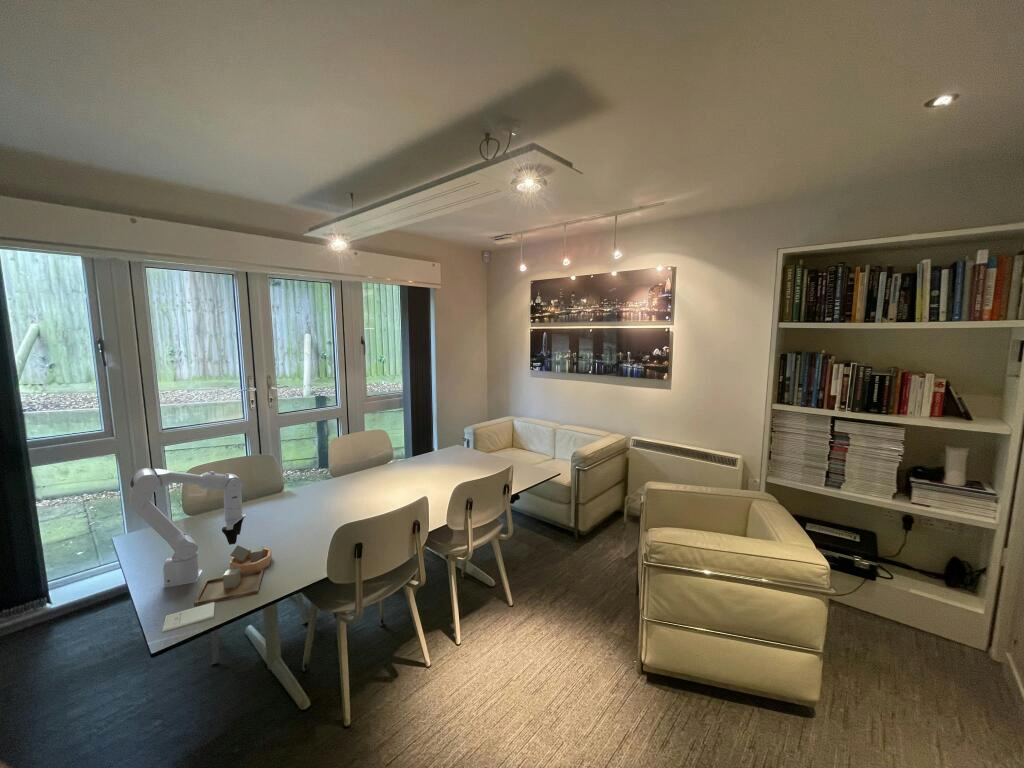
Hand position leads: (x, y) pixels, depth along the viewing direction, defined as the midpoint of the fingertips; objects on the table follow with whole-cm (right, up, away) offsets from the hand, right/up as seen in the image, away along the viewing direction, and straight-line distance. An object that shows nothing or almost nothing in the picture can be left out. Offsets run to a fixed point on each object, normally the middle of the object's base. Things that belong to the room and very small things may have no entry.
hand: (234, 539), depth 157 cm
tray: (+9, -12, -14) cm, 21 cm away
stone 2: (+8, -11, -13) cm, 19 cm away
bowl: (+7, -10, 0) cm, 12 cm away
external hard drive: (+6, -14, -29) cm, 33 cm away
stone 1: (+6, -6, -2) cm, 9 cm away
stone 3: (+8, -10, +2) cm, 12 cm away
